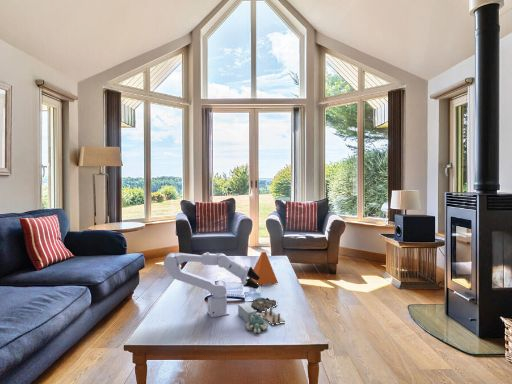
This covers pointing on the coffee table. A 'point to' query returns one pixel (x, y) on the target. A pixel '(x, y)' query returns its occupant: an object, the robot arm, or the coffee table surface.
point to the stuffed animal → (256, 323)
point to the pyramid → (264, 270)
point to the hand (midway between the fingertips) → (258, 283)
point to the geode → (262, 304)
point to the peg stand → (272, 316)
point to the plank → (245, 311)
